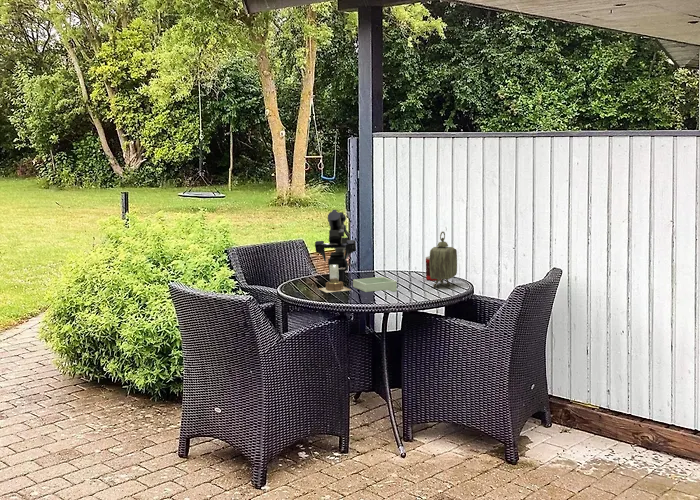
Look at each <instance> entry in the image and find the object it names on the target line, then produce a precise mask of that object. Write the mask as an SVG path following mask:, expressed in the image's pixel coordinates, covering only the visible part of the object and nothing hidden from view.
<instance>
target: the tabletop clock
mask: <svg viewBox="0 0 700 500" xmlns="http://www.w3.org/2000/svg"><path fill="white" fill-rule="evenodd" d="M442 234H443V237H442ZM439 239H440V241H439V242H438V243H437V246H433V247H432V248H431V249H430V251H429V256H430V278H431V279H437V281H435V283H433V286H432V287H433V288H436V287H437V286H438V283H440V284H444V280H446V286H447V287H450V286H451V282H449V280H450V279H453V278H454V277H455V276H456V275H457V273H458V253H457V252H458V251H457V249H456V248H454V247H453V246H449V244H448V242H446V241H445V239H446V233H445V231H441V232H440V235H439ZM440 279H442V280H440Z"/></svg>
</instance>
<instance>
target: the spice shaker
mask: <svg viewBox="0 0 700 500" xmlns="http://www.w3.org/2000/svg"><path fill="white" fill-rule="evenodd" d="M329 267H330V271H329V281H328V282H329V284H337V283H340V282H339V270H338V269H339V268H338V265H337V264H332V265H329ZM329 267H328V268H329Z"/></svg>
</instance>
